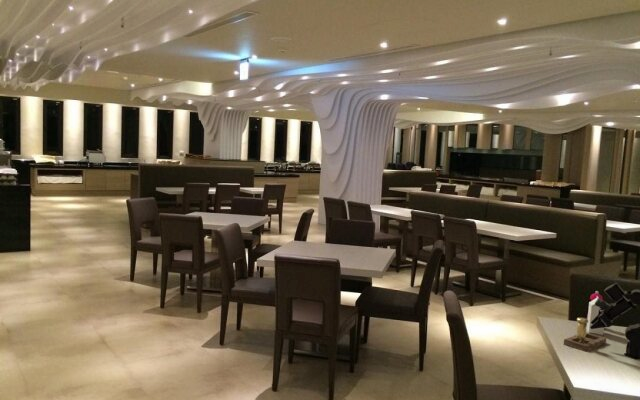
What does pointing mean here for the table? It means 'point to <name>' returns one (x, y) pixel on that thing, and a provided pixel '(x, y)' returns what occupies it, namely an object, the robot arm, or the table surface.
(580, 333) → the brass bolt
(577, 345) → the template plate
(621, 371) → the table surface
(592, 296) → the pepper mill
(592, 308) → the milk carton
